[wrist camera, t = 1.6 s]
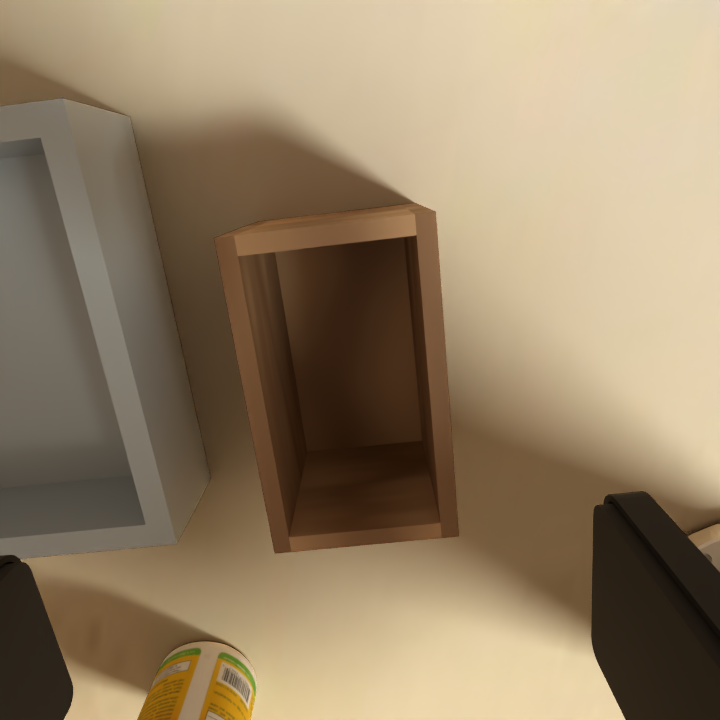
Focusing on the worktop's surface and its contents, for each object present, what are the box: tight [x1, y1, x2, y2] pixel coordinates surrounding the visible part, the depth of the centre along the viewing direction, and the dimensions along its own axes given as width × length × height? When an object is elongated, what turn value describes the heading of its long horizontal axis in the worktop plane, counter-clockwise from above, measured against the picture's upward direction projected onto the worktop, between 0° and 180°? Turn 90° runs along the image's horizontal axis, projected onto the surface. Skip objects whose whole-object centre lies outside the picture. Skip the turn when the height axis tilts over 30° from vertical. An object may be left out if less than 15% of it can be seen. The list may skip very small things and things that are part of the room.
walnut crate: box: [214, 203, 459, 553], centre depth 21 cm, size 6×11×7 cm, turn 7°
